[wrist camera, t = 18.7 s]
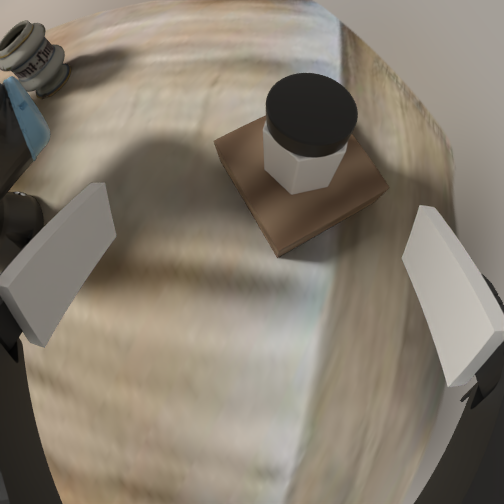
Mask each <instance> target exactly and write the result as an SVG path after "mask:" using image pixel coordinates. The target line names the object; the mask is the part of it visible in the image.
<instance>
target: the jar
mask: <svg viewBox="0 0 504 504" xmlns="http://www.w3.org/2000/svg"><path fill="white" fill-rule="evenodd" d="M357 118H358V112H357V106H356V103H355V101H354V99H353V97H352V96H351V94H350V93H349V92H348V91H347V90H346V89H345V88H344V87H343V86H342V85H341V84H339V83H338V82H336V81H335V80H333V79H331V78H329V77H326V76H323V75H319V74H314V73H298V74H293V75H290V76H287V77H285V78H283V79H281V80H280V81H278V82H277V83H276V84H275V85H274V86H273V87H272V88H271V90H270V91H269V93H268V96H267V99H266V121H265V124H264V127H263V150H264V169H265V171H267V172H268V173H269V174H270V175H271V176H272V177H273V178H274V179H275V180H276V181H277V182H278V183H279V184H280V185H281V186H283V187H284V188H285V189H286V190H287V191H288V192H289V193H290V194H291V195H293V194H298V193H302V192H307V191H311V190H316V189H321V188H325V187H328V186H329V184H330V182H331V180H332V178H333V176H334V174H335V172H336V170H337V168H338V166H339V164H340V162H341V160H342V159H343V157H344V155H345V153H346V148H347V143H348V140H349V138H350V136H351V134H352V132H353V130H354V128H355V126H356V123H357Z"/></svg>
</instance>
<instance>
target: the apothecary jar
mask: <svg viewBox="0 0 504 504" xmlns="http://www.w3.org/2000/svg"><path fill="white" fill-rule="evenodd" d="M44 36H45V27H44V26H43V25H42V24H40V23H33V24H31V23H30V22H29V21H27V20H25V21H22V22H20V23H18V24H17V25H15V26H14V27H13V28H12V29H11V30H10V31H9V32H8V33H7V34H6V35H5V36H4V37H3V39H2V40H1V41H0V69H1V70H2V71H12V72H13V73H14V74H15V75H16V76H17V77H18V78H19V82H20V84H21V85H22V86H23V87H24V89H25V90H26V91H28V92H29V91H35V90H36V95H37V97H38V98H40V99H43V98H45V97H46V96H48V97H50V96H52V95H53V94H55V93H56V92H57V91H58V90H59V89H60V88H61V87H62V86H63V85H64V84H65V83H66V81H67V80H68V78H69V76H70V73H71V67H70V66H69V65H68V64H63V61H64V56H65V54H64V50H63V48H62V47H61V46H59V45H51V44H50V42H49V41H48V40H47V39H46V38H45V37H44Z"/></svg>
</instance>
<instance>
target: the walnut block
mask: <svg viewBox="0 0 504 504" xmlns="http://www.w3.org/2000/svg"><path fill="white" fill-rule="evenodd" d="M265 121H266V116H264V117H261V118H259V119H257V120H255V121H253V122H251V123H249V124H247V125H244V126H242V127H240V128H238V129H236V130H234V131H232V132H230V133H228V134H226V135H224V136H222V137H220V138H218V139H217V140H215V141H214V144H215V146H216V149H217V152H218V155H219V158H220V161H221V163H222V164H223V166H224V168H225V169H226V171H227V173H228V174H229V176H230V178H231V179H232V181H233V183H234V185H235V186H236V188H237V190H238V191H239V193H240V195H241V196H242V198H243V200H244V201H245V203H246V205H247V207H248V208H249V210H250V212H251V213H252V215H253V217H254V219H255V220H256V222H257V224H258V225H259V227H260V229H261V231H262V232H263V234H264V236H265V238H266V239H267V241H268V243H269V244H270V246H271V248H272V250H273V251H274V253H275V255H276V257H277V258H278V257H280V256H282V255H283V254H285V253H287V252H289V251H290V250H292V249H294V248H296V247H297V246H299V245H301V244H303V243H304V242H306V241H308V240H310V239H311V238H313V237H315V236H317V235H318V234H320V233H322V232H324V231H325V230H327V229H329V228H331V227H332V226H334V225H336V224H338V223H339V222H341V221H343V220H344V219H346V218H348V217H350V216H351V215H353V214H355V213H357V212H358V211H360V210H362V209H363V208H365V207H367V206H369V205H370V204H372V203H374V202H375V201H376V200H377V199H378V198H379V197H380V196H381V195H382V194H383V193H384V192H386V191H387V190H388V189H389V186H388V185H387V183H386V181H385V180H384V178H383V177H382V175H381V174H380V172H379V171H378V169H377V168H376V166H375V165H374V164H373V162H372V161H371V159H370V158H369V156H368V155H367V154H366V152H365V151H364V149H363V148H362V147H361V145H360V144H359V142H358V141H357V140H356V138H355V137H354V136H353V134H351V136H350V138H349V140H348V143H347V148H346V153H345V155H344V157H343V159H342V160H341V162H340V164H339V166H338V168H337V170H336V172H335V174H334V176H333V178H332V180H331V182H330V184H329V186H328V187H325V188H321V189H316V190H311V191H307V192H302V193H298V194H293V195H291V194H290V193H289V192H288V191H287V190H286V189H285V188H284V187H283V186H281V185H280V184H279V183H278V182H277V181H276V180H275V179H274V178H273V177H272V176H271V175H270V174H269V173H268V172H267V171H265V169H264V150H263V127H264V124H265Z"/></svg>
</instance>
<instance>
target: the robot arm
mask: <svg viewBox="0 0 504 504" xmlns="http://www.w3.org/2000/svg"><path fill="white" fill-rule="evenodd" d="M49 139H50V129H49V127H48V125H47V123H46V121H45V119H44V117H43V116H42V114H41V113H40V111H39V109H38V108H37V106H36V105H35V103H34V102H33V100H32V99H31V97H30V96H29V94H28V93H27V92H26V90H25V89H24V87H23V86H22V85H21V84H20V82H19V81H18V80H17V79H16V78H15V77H13V76H11V77H9V78H8V79H6V80H4V81H3V84H1V83H0V504H62V501H61V499H60V496H59V494H58V491H57V489H56V486H55V484H54V481H53V478H52V475H51V472H50V470H49V467H48V464H47V461H46V457H45V454H44V451H43V448H42V444H41V441H40V437H39V433H38V429H37V425H36V421H35V417H34V413H33V408H32V403H31V398H30V393H29V387H28V382H27V375H26V368H25V361H24V353H23V345H22V342H21V340H20V339H19V336H20V335H21V333H22V332H23V333H24V335H25V336H26V338H27V339H28V340H29V342H30V343H33V344H35V345H38V346H41V347H44V348H45V346H46V345H47V343H48V341H49V339H50V337H51V336H52V334H53V332H54V330H55V329H56V327H57V325H58V324H59V322H60V320H61V319H62V317H63V315H64V314H65V312H66V310H67V309H68V307H69V305H70V304H71V302H72V301H73V299H74V298H75V296H76V294H77V293H78V291H79V290H80V288H81V287H82V285H83V284H84V282H85V281H86V279H87V278H88V276H89V275H90V273H91V272H92V270H93V269H94V267H95V266H96V264H97V263H98V261H99V260H100V259H101V257H102V256H103V254H104V253H105V252H106V250H107V249H108V247H109V246H110V245H111V243H112V242H113V240H114V239H115V238H116V236H117V235H116V231H115V227H114V223H113V218H112V214H111V209H110V205H109V200H108V195H107V190H106V185H105V183H90V184H89V185H88V186H87V187H86V188H85V189H83V190H82V191H81V192H80V193H79V194H78V195H77V196H76V197H75V198H73V199H72V200H71V201H70V202H69V203H68V204H67V205H66V206H65V207H64V208H63V209H62V210H61V211H60V212H59V213H58V214H57V215H55V216H54V217H53V218H52V219H51V220H50V221H49V222H48V223H47V224H46V225H45V226H44V227H43V215H42V211H41V208H40V205H39V203H38V202H37V201H36V199H35V198H33V197H32V196H30V195H28V194H26V193H23V192H8V191H9V190H10V188H11V187H12V186H13V185H14V183H15V182H16V181H17V180H18V179H19V177H20V176H21V175H22V174H23V173H24V171H25V170H26V169H27V168H28V167H29V166H30V164H31V163H32V162H33V161H35V160H36V158H37V156H38V154H39V153H40V152H41V151H42V149H43V148H44V147H45V146H46V145H47V143H48V142H49ZM402 261H403V263H404V265H405V267H406V270H407V272H408V274H409V277H410V279H411V282H412V284H413V286H414V289H415V291H416V294H417V296H418V299H419V302H420V304H421V307H422V309H423V312H424V315H425V317H426V320H427V323H428V326H429V329H430V331H431V334H432V337H433V340H434V343H435V346H436V349H437V352H438V356H439V359H440V362H441V365H442V369H443V372H444V375H445V379H446V382H447V386H448V387H454V386H461V385H465V384H466V383H467V382H468V381H469V380H470V379H471V378H472V377H473V376H474V375H476V378H477V381H478V382H477V383H476V384H475V385H474V386H473V387H472V388H471V389H470V390H469V391H468V392H467V393H466V394H465V395H464V396H463V397H462V399H461V400H460V401H461V402H463V401H464V400H465V399H466V398H467V397H469V399H468V401H467V403H466V406H465V409H464V411H463V413H462V416H461V418H460V420H459V423H458V425H457V427H456V429H455V431H454V434H453V436H452V438H451V440H450V442H449V444H448V446H447V448H446V450H445V452H444V454H443V456H442V458H441V459H440V461H439V463H438V465H437V467H436V469H435V470H434V472H433V474H432V476H431V477H430V479H429V481H428V482H427V484H426V486H425V487H424V489H423V491H422V492H421V494H420V495H419V497H418V498H417V500H416V501H415V503H414V504H504V305H503V302H502V300H501V299H500V297H499V296H498V293H497V291H496V290H495V288H494V286H493V285H492V283H491V282H490V281H489V280H488V279H487V278H486V277H485V276H484V275H483V274H481V273H480V272H479V270H478V268H477V267H476V265H475V264H474V262H473V261H472V259H471V258H470V256H469V254H468V253H467V252H466V250H465V249H464V247H463V246H462V244H461V243H460V241H459V240H458V238H457V237H456V235H455V234H454V233H453V231H452V230H451V228H450V227H449V226H448V224H447V223H446V222H445V220H444V219H443V218H442V216H441V215H440V214H439V212H438V211H437V210H436V208H435V207H430V206H424V205H420V206H419V209H418V212H417V215H416V218H415V221H414V224H413V227H412V230H411V233H410V236H409V239H408V242H407V245H406V248H405V250H404V253H403V256H402Z"/></svg>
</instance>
